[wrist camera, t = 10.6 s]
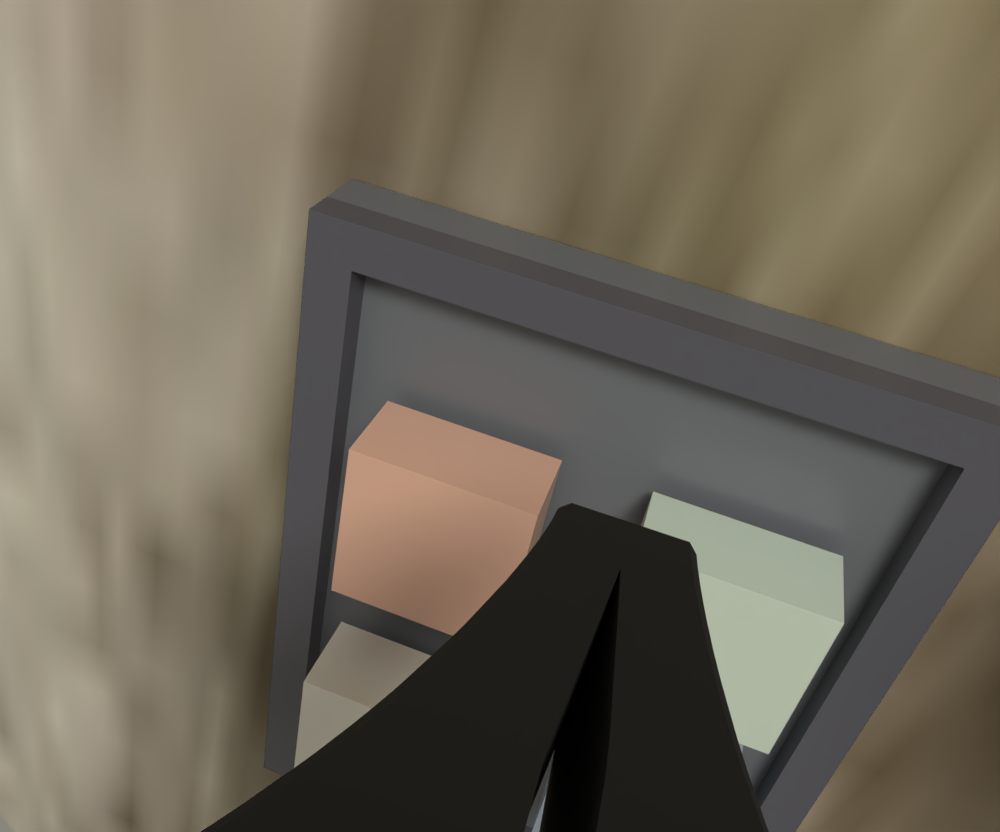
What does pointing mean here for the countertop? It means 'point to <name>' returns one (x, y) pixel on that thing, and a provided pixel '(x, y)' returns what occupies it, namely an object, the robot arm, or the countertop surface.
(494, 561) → the key terracotta
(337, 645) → the key cream
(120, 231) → the countertop surface
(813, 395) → the dark grey tray
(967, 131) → the countertop surface
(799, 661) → the key sage
